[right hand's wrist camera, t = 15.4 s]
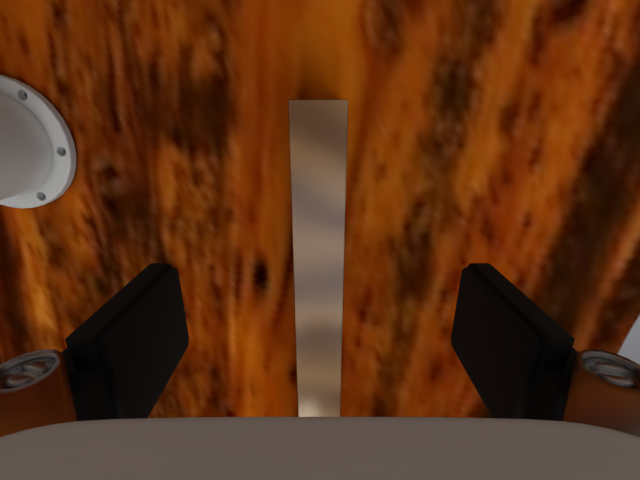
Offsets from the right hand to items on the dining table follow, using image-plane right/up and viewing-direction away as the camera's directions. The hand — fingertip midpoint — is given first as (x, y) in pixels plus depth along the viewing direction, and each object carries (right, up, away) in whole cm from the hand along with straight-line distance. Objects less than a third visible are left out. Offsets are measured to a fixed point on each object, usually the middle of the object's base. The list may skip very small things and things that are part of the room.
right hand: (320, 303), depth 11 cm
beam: (0, -13, +32) cm, 34 cm away
